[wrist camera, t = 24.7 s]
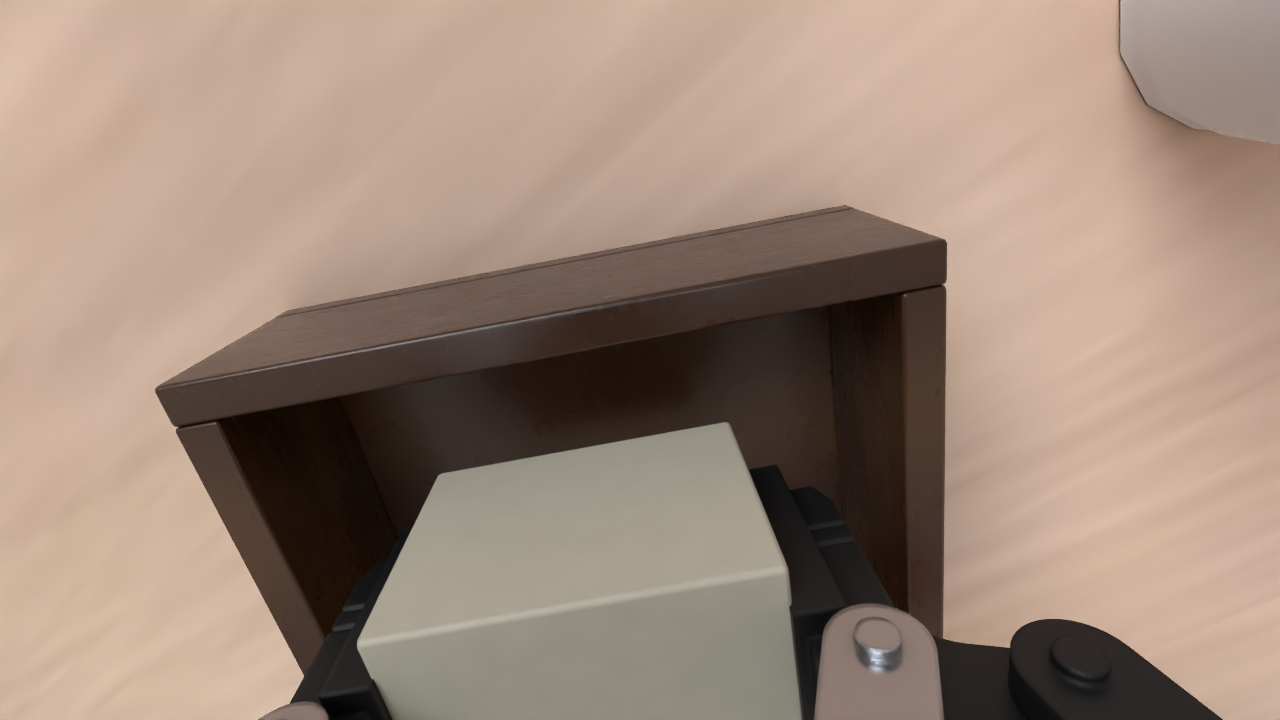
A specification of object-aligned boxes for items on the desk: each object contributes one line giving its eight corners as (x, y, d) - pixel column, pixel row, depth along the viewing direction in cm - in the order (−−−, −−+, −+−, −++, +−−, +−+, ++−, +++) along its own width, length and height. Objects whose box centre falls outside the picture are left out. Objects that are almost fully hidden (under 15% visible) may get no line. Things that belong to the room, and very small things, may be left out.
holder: (285, 310, 14) (150, 389, 10) (846, 204, 14) (949, 238, 10) (450, 708, 19) (406, 873, 15) (868, 634, 19) (943, 781, 15)
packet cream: (437, 471, 11) (351, 645, 7) (729, 419, 11) (789, 568, 7) (487, 615, 12) (436, 823, 9) (750, 569, 12) (810, 760, 9)
